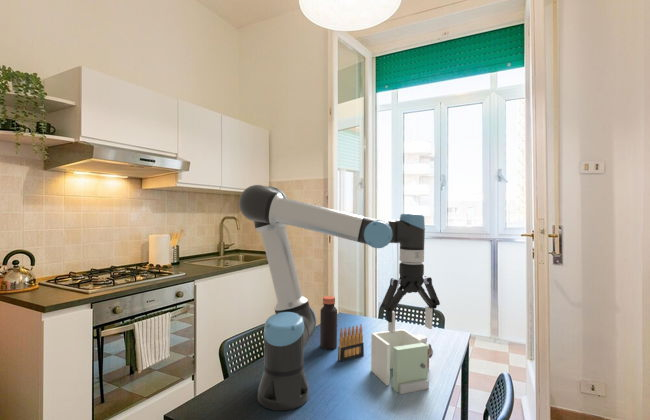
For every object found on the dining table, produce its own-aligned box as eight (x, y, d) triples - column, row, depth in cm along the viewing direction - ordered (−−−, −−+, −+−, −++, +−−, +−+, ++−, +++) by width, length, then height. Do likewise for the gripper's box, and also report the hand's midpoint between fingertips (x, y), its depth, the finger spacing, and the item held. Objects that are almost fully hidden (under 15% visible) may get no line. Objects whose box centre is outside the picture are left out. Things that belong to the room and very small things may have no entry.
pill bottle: (432, 370, 120) (432, 339, 120) (416, 372, 119) (416, 340, 119) (423, 362, 126) (423, 332, 126) (407, 364, 125) (408, 333, 125)
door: (398, 393, 105) (399, 351, 105) (392, 388, 108) (393, 346, 108) (429, 387, 108) (429, 346, 108) (422, 382, 112) (422, 342, 112)
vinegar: (336, 343, 143) (337, 295, 143) (336, 350, 137) (337, 299, 137) (320, 343, 144) (321, 295, 144) (319, 349, 137) (320, 299, 137)
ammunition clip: (340, 362, 126) (340, 329, 126) (337, 360, 128) (338, 327, 128) (364, 355, 132) (364, 324, 132) (361, 354, 133) (361, 323, 133)
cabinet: (396, 395, 104) (397, 352, 104) (371, 370, 120) (371, 333, 120) (432, 387, 108) (433, 346, 108) (403, 365, 124) (403, 329, 124)
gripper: (382, 266, 101) (381, 338, 101) (452, 262, 109) (450, 329, 109) (370, 262, 108) (369, 329, 108) (436, 259, 116) (435, 322, 116)
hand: (410, 329), depth 109 cm, fingers open, 13 cm apart
